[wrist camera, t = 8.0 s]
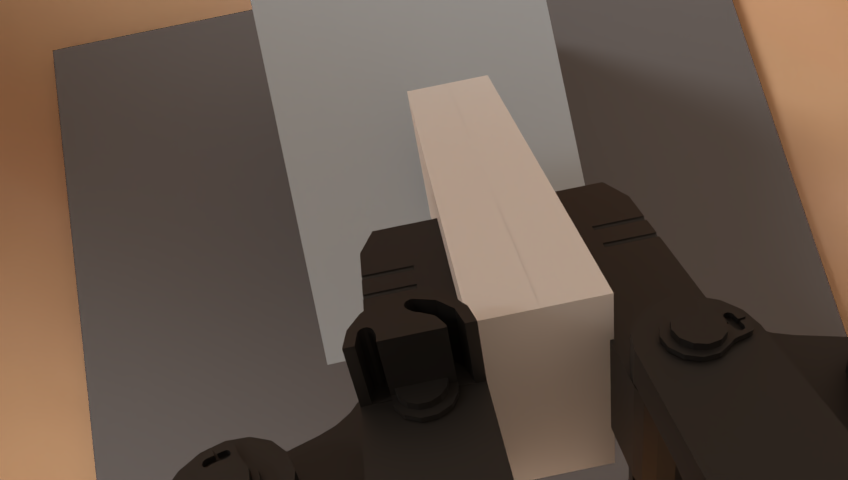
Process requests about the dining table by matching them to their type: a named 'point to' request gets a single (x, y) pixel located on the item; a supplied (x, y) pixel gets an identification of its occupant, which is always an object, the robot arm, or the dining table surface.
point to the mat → (280, 238)
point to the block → (392, 115)
